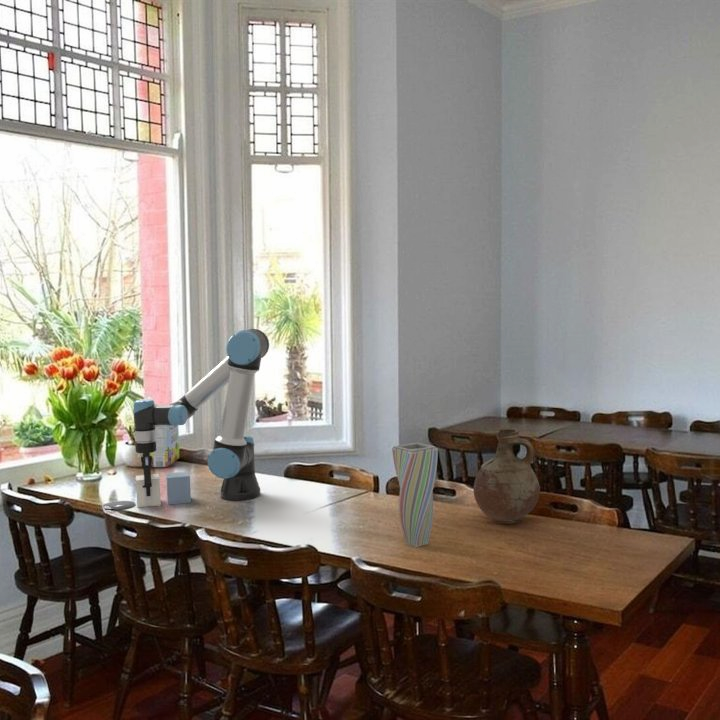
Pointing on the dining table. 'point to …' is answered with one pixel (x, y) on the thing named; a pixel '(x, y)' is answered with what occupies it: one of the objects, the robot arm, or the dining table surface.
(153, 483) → the cream upright block
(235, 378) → the robot arm
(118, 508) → the coaster
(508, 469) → the jug
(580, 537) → the dining table surface
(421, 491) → the vase
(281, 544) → the dining table surface
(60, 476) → the dining table surface
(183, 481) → the pale blue cube
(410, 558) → the dining table surface
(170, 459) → the snack box
